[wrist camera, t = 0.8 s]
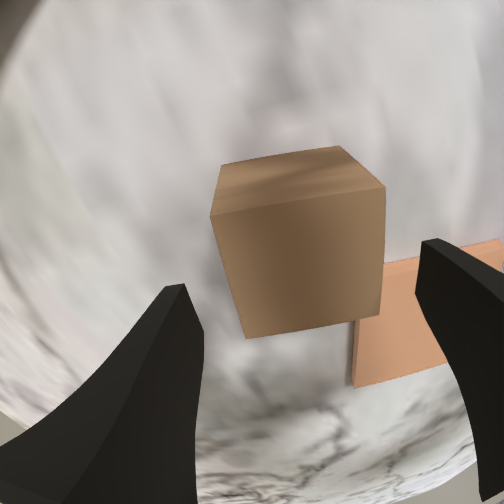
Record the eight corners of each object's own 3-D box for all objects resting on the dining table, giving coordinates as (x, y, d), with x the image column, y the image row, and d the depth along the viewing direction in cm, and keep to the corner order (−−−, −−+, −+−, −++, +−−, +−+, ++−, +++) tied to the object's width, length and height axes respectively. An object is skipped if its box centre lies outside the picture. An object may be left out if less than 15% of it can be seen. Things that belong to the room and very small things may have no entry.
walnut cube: (338, 145, 12) (385, 186, 8) (345, 245, 15) (379, 315, 11) (221, 164, 13) (209, 215, 9) (245, 262, 15) (245, 339, 11)
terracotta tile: (498, 239, 15) (507, 247, 14) (464, 345, 20) (469, 354, 19) (356, 269, 16) (361, 280, 15) (351, 377, 21) (353, 388, 20)
